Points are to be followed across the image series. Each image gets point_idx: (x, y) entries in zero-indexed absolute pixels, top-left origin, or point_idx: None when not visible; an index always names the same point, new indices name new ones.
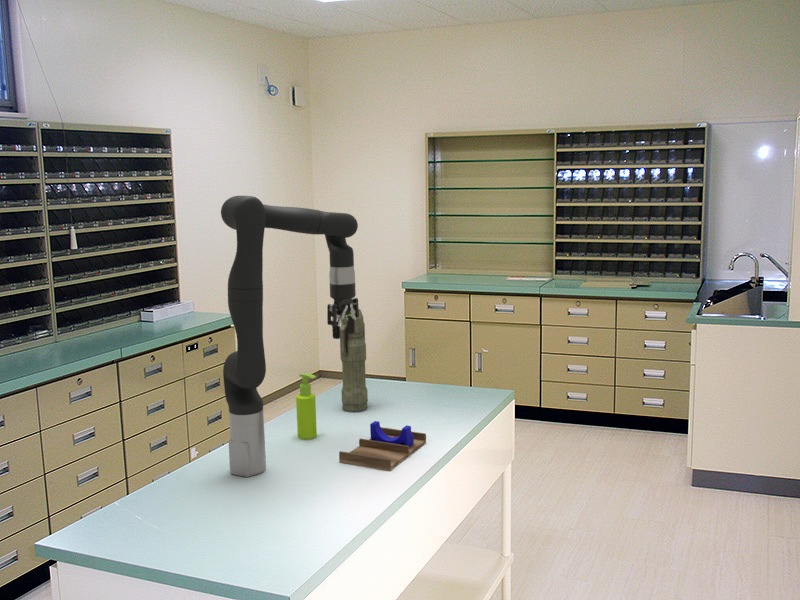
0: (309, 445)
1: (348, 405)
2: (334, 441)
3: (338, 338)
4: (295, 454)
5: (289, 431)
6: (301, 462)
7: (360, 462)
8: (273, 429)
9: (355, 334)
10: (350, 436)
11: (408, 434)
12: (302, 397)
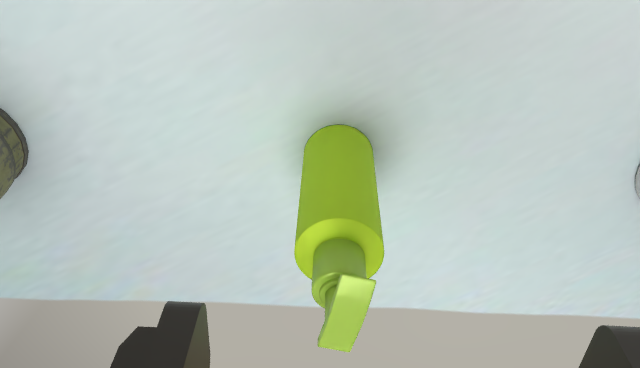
0: (424, 105)
1: (13, 157)
2: (355, 38)
3: (634, 332)
4: (525, 106)
5: None
6: (604, 47)
7: None
8: None
9: None
10: (277, 3)
11: None
12: (375, 253)
